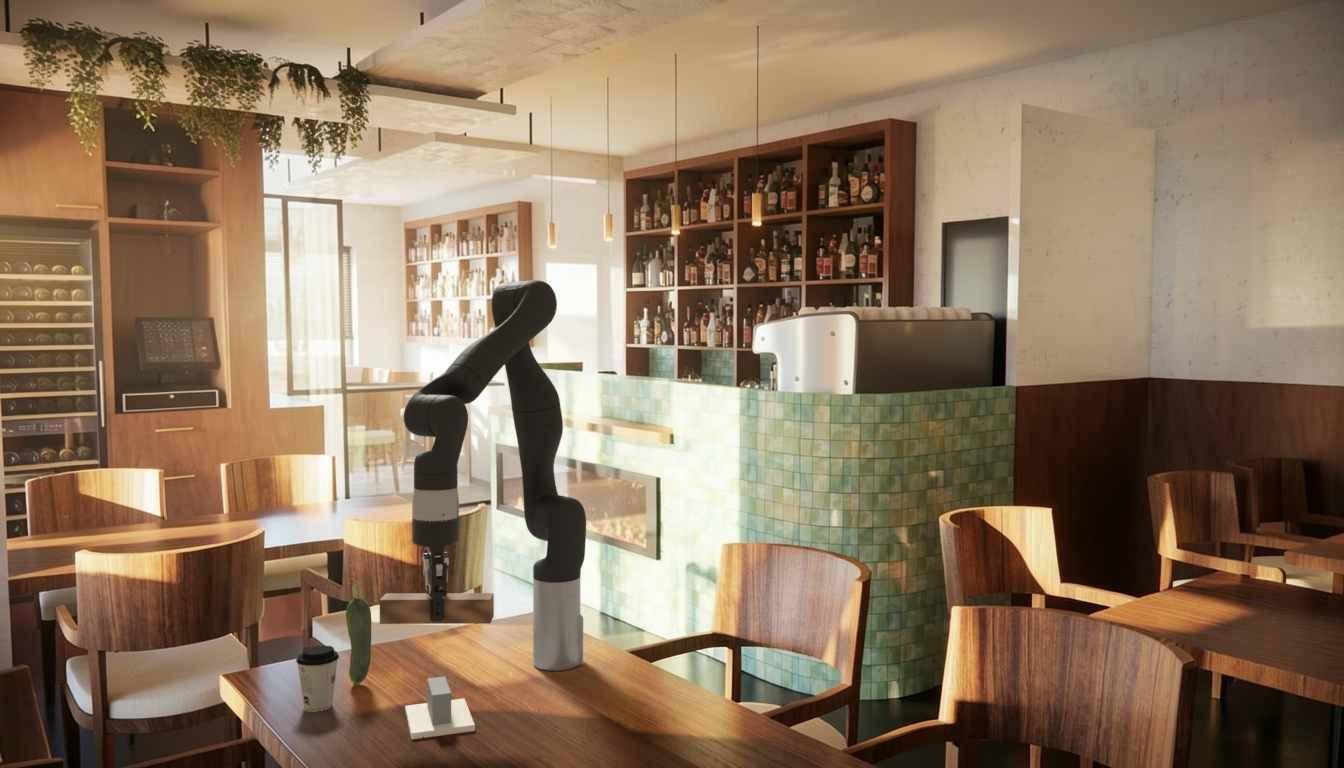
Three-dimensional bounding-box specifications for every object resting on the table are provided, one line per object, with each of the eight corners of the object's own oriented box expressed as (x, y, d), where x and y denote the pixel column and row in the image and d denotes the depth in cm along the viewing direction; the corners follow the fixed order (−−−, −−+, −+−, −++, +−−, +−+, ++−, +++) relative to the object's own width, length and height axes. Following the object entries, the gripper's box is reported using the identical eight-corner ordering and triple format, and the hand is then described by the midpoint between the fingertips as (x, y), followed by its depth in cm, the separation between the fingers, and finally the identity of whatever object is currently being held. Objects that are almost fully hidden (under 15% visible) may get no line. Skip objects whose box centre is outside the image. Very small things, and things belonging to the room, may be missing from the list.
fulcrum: (464, 704, 166) (464, 670, 165) (474, 730, 155) (474, 694, 154) (405, 711, 162) (405, 676, 162) (411, 739, 151) (411, 702, 151)
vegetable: (375, 682, 176) (374, 575, 175) (365, 690, 172) (364, 581, 171) (352, 681, 176) (351, 574, 175) (342, 689, 172) (341, 580, 171)
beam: (493, 616, 160) (493, 593, 160) (490, 623, 157) (490, 599, 156) (385, 617, 160) (385, 593, 159) (379, 623, 156) (379, 599, 155)
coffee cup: (298, 717, 159) (298, 659, 159) (294, 703, 166) (293, 647, 165) (342, 710, 163) (341, 653, 162) (336, 696, 169) (335, 641, 168)
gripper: (463, 521, 152) (463, 626, 152) (454, 506, 165) (453, 603, 166) (415, 523, 149) (415, 630, 150) (409, 508, 163) (409, 606, 164)
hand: (435, 615), depth 158 cm, fingers closed on beam, 4 cm apart
